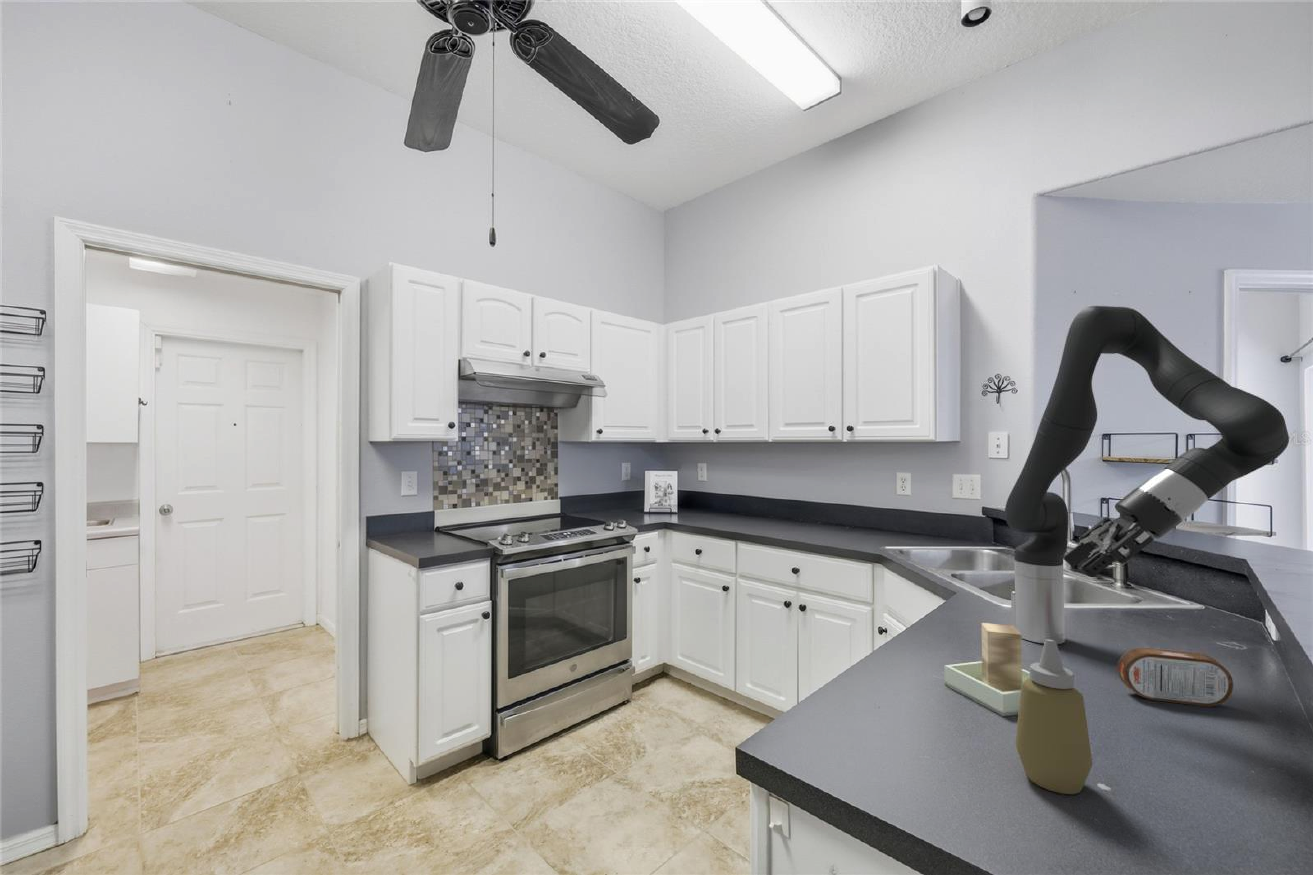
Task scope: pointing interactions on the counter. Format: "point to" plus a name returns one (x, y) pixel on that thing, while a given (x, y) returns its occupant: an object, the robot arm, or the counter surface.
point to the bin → (982, 688)
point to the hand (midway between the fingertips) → (1076, 567)
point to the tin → (1175, 676)
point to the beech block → (1001, 657)
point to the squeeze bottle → (1053, 726)
